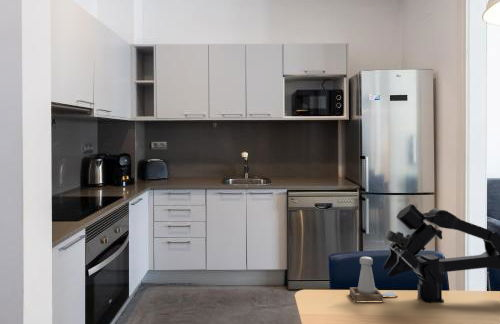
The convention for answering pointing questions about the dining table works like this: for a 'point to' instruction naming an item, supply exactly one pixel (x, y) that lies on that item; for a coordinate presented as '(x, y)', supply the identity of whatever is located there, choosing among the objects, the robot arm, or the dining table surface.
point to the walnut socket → (358, 297)
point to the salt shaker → (366, 277)
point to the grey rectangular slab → (389, 294)
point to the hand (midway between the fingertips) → (386, 272)
